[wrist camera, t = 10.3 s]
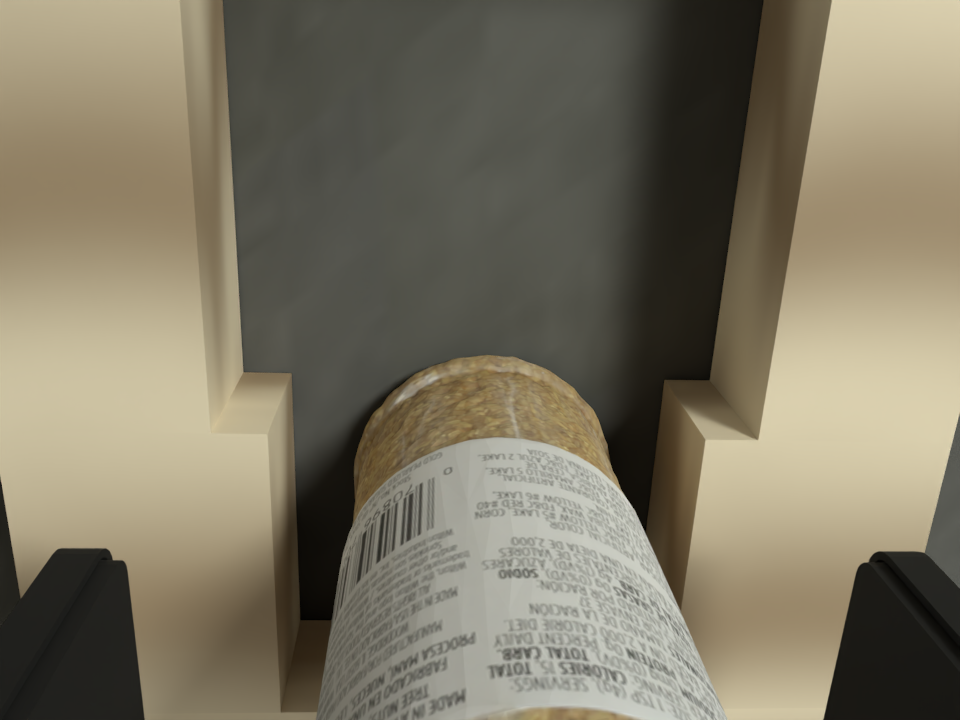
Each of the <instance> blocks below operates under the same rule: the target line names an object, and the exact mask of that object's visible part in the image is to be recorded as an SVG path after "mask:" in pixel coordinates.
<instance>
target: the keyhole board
mask: <svg viewBox="0 0 960 720" xmlns="http://www.w3.org/2000/svg"><path fill="white" fill-rule="evenodd" d="M959 413H960V0H764V2H763V9H762V16H761V23H760V30H759V37H758V44H757V51H756V58H755V65H754V72H753V79H752V87H751V94H750V101H749V108H748V115H747V122H746V129H745V136H744V143H743V150H742V157H741V164H740V171H739V178H738V185H737V192H736V199H735V206H734V213H733V220H732V227H731V234H730V241H729V248H728V255H727V262H726V269H725V276H724V283H723V290H722V297H721V304H720V311H719V318H718V325H717V332H716V339H715V346H714V354H713V361H712V368H711V375H710V380H664V388H663V396H662V404H661V413H660V421H659V429H658V437H657V445H656V453H655V461H654V469H653V478H652V486H651V494H650V502H649V510H648V518H647V526H646V536H647V538H648V540H649V542H650V545H651V547H652V549H653V551H654V553H655V555H656V558H657V560H658V562H659V565H660V567H661V569H662V572H663V574H664V576H665V578H666V580H667V583H668V585H669V587H670V589H671V591H672V594H673V596H674V598H675V600H676V603H677V605H678V607H679V609H680V612H681V614H682V616H683V618H684V621H685V623H686V625H687V628H688V630H689V632H690V635H691V637H692V639H693V641H694V644H695V646H696V648H697V651H698V653H699V655H700V658H701V660H702V662H703V664H704V667H705V669H706V671H707V674H708V676H709V678H710V681H711V683H712V685H713V687H714V690H715V692H716V694H717V696H718V699H719V701H720V703H721V706H722V708H723V710H724V712H725V715H726V717H727V719H728V720H823V719H824V714H825V710H826V705H827V701H828V696H829V692H830V687H831V683H832V678H833V674H834V669H835V665H836V660H837V656H838V651H839V647H840V642H841V638H842V633H843V629H844V624H845V620H846V615H847V611H848V607H849V602H850V598H851V593H852V589H853V584H854V580H855V575H856V572H857V569H858V567H859V566H860V564H862V563H864V562H869V559H870V558H871V556H872V555H873V554H874V553H876V552H878V551H918V552H923V553H924V552H925V548H926V544H927V540H928V536H929V532H930V528H931V524H932V520H933V517H934V513H935V509H936V505H937V501H938V497H939V493H940V489H941V485H942V481H943V477H944V473H945V469H946V465H947V461H948V457H949V453H950V449H951V445H952V441H953V437H954V433H955V429H956V425H957V421H958V417H959ZM0 477H1V483H2V489H3V495H4V501H5V507H6V513H7V519H8V525H9V531H10V537H11V543H12V549H13V555H14V561H15V567H16V573H17V579H18V585H19V591H20V597H21V598H22V596H23V595H24V593H25V592H26V591H27V589H28V588H29V586H30V585H31V584H32V582H33V581H34V579H35V578H36V577H37V575H38V574H39V572H40V571H41V570H42V568H43V567H44V565H45V564H46V563H47V561H48V560H49V558H50V557H51V556H52V554H53V553H54V552H55V551H56V550H57V549H60V548H106V549H108V550H109V551H110V553H111V555H112V558H113V560H123V561H124V562H125V563H126V566H127V570H128V578H129V587H130V595H131V604H132V613H133V622H134V630H135V639H136V648H137V657H138V665H139V674H140V683H141V691H142V700H143V709H144V718H145V720H316V716H317V710H318V704H319V698H320V692H321V686H322V679H323V673H324V667H325V661H326V655H327V648H328V642H329V636H330V629H331V623H332V620H300V597H299V569H298V541H297V513H296V485H295V457H294V428H293V400H292V373H250V372H243V357H242V339H241V321H240V303H239V286H238V268H237V250H236V232H235V214H234V196H233V178H232V160H231V143H230V125H229V107H228V89H227V71H226V53H225V35H224V17H223V0H0Z"/></svg>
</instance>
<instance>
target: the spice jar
mask: <svg viewBox="0 0 960 720" xmlns="http://www.w3.org/2000/svg"><path fill="white" fill-rule="evenodd" d="M354 487H355V508H354V517H353V526H352V528H351V530H350V532H349V535H348V538H347V542H346V545H345V548H344V551H343V556H342V561H341V566H340V572H339V578H338V584H337V591H336V598H335V604H334V610H333V617H332V623H331V629H330V636H329V642H328V648H327V655H326V661H325V667H324V673H323V679H322V686H321V692H320V698H319V704H318V710H317V716H316V720H728V719H727V717H726V715H725V712H724V710H723V708H722V706H721V703H720V701H719V699H718V696H717V694H716V692H715V690H714V687H713V685H712V683H711V681H710V678H709V676H708V674H707V671H706V669H705V667H704V664H703V662H702V660H701V658H700V655H699V653H698V651H697V648H696V646H695V644H694V641H693V639H692V637H691V635H690V632H689V630H688V628H687V625H686V623H685V621H684V618H683V616H682V614H681V612H680V609H679V607H678V605H677V603H676V600H675V598H674V596H673V594H672V591H671V589H670V587H669V585H668V583H667V580H666V578H665V576H664V574H663V572H662V569H661V567H660V565H659V562H658V560H657V558H656V555H655V553H654V551H653V549H652V547H651V545H650V542H649V540H648V538H647V536H646V534H645V532H644V529H643V527H642V525H641V523H640V521H639V519H638V516H637V514H636V512H635V510H634V509H633V507H632V506H631V504H630V502H629V501H628V500H627V498H626V497H625V495H624V494H623V492H622V490H621V488H620V485H619V483H618V480H617V477H616V476H615V474H614V472H613V471H612V467H611V463H610V457H609V451H608V445H607V443H606V440H605V438H604V435H603V432H602V429H601V426H600V423H599V420H598V418H597V416H596V414H595V412H594V410H593V409H592V408H591V407H590V406H589V405H588V404H587V403H586V402H585V401H584V400H583V399H582V398H581V397H580V396H579V394H578V393H577V392H576V390H575V389H574V388H573V387H572V386H570V385H569V384H568V383H566V382H564V381H563V380H562V379H560V378H559V377H557V376H556V375H555V374H553V373H552V372H551V371H549V370H547V369H545V368H542V367H540V366H538V365H535V364H531V363H528V362H526V361H523V360H521V359H518V358H516V357H502V356H492V355H483V356H475V357H467V358H457V359H452V360H449V361H447V362H445V363H442V364H437V365H434V366H431V367H429V368H427V369H425V370H422V371H420V372H418V373H416V374H414V375H413V376H412V377H410V378H409V379H408V380H407V381H406V382H405V383H403V384H402V385H401V386H399V387H398V388H396V389H395V390H394V391H393V392H392V393H391V394H390V395H389V396H388V397H387V398H386V400H385V401H384V403H383V405H382V406H381V407H380V408H378V409H377V410H376V411H375V412H374V413H373V414H372V416H371V418H370V420H369V421H368V423H367V425H366V427H365V429H364V433H363V436H362V438H361V441H360V444H359V446H358V450H357V453H356V457H355V463H354Z"/></svg>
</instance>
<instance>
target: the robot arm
mask: <svg viewBox="0 0 960 720" xmlns="http://www.w3.org/2000/svg"><path fill="white" fill-rule="evenodd" d="M0 720H145V718H144V709H143V700H142V691H141V683H140V674H139V665H138V657H137V648H136V639H135V630H134V622H133V613H132V604H131V595H130V587H129V578H128V570H127V566H126V563H125V562H124V561H123V560H113V558H112V555H111V553H110V551H109V550H108V549H106V548H60V549H57V550H56V551H55V552H54V553H53V554H52V556H51V557H50V558H49V560H48V561H47V563H46V564H45V565H44V567H43V568H42V570H41V571H40V572H39V574H38V575H37V577H36V578H35V579H34V581H33V582H32V584H31V585H30V586H29V588H28V589H27V591H26V592H25V593H24V595H23V596H22V598H21V599H20V600H19V602H18V603H17V605H16V606H15V607H14V609H13V610H12V612H11V613H10V614H9V616H8V617H7V619H6V620H5V622H4V623H3V624H2V626H1V627H0ZM823 720H960V589H959V588H958V586H957V585H956V584H955V583H954V582H953V581H952V580H951V579H950V578H949V577H948V576H947V575H946V574H945V573H944V572H943V571H942V570H941V569H940V568H939V567H938V566H937V565H936V564H935V562H934V561H933V560H932V559H931V558H930V557H929V556H927V555H926V554H925V553H923V552H918V551H878V552H876V553H874V554H873V555H872V556H871V558H870V559H869V562H864V563H862V564H860V566H859V567H858V569H857V572H856V575H855V580H854V584H853V589H852V593H851V598H850V602H849V607H848V611H847V615H846V620H845V624H844V629H843V633H842V638H841V642H840V647H839V651H838V656H837V660H836V665H835V669H834V674H833V678H832V683H831V687H830V692H829V696H828V701H827V705H826V710H825V714H824V719H823Z"/></svg>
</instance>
